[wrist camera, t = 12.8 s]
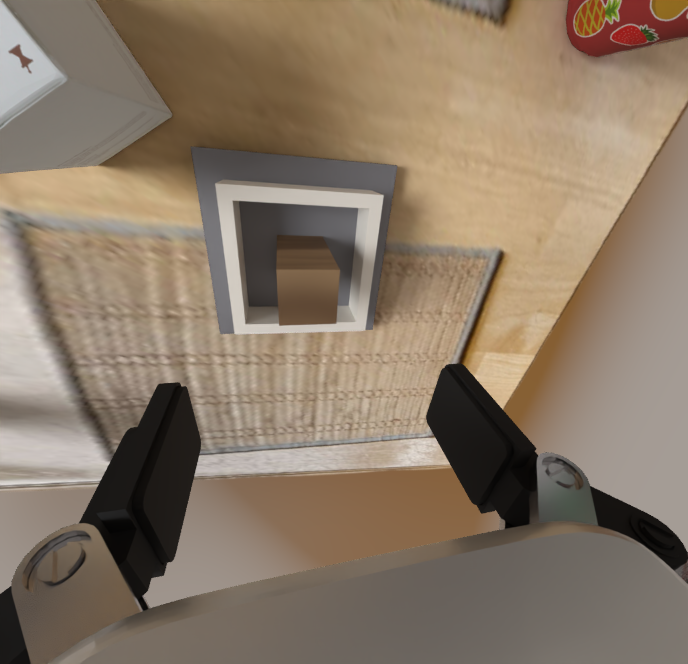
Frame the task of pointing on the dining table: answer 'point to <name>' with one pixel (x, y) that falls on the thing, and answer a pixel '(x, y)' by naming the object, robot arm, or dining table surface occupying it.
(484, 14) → the dining table surface
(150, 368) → the dining table surface
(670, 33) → the smoothie
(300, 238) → the block
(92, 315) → the dining table surface
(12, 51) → the supplement box
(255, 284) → the collar stand
